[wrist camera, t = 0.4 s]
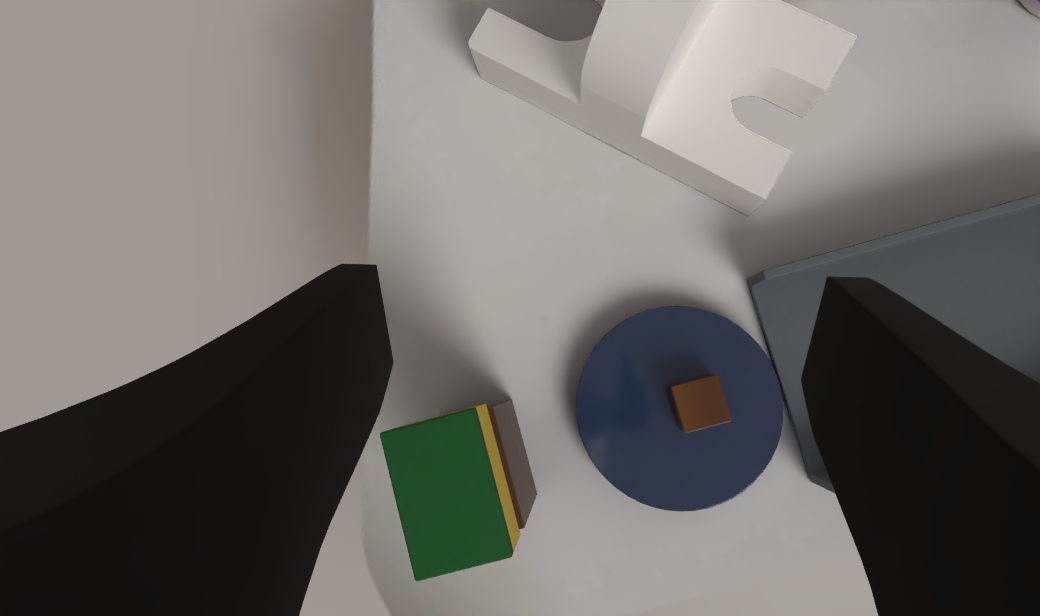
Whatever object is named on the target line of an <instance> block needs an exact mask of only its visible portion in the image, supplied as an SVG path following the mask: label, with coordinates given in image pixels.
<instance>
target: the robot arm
mask: <svg viewBox="0 0 1040 616" xmlns="http://www.w3.org/2000/svg"><path fill="white" fill-rule="evenodd" d="M392 366H393V357H392V351H391V345H390V340H389V334H388V328H387V322H386V317H385V311H384V305H383V300H382V294H381V288H380V283H379V277H378V271H377V265H365V264H340V265H338V266H336V267H334V268H332V269H330V270H328V271H327V272H325V273H323V274H321V275H320V276H318V277H316V278H315V279H313V280H311V281H310V282H308V283H307V284H305V285H303V286H302V287H300V288H299V289H297V290H296V291H294V292H292V293H291V294H289V295H288V296H286V297H284V298H283V299H281V300H280V301H278V302H276V303H275V304H273V305H272V306H270V307H268V308H267V309H265V310H264V311H262V312H260V313H259V314H257V315H256V316H254V317H253V318H251V319H249V320H247V321H246V322H244V323H243V324H240V325H239V326H237V327H235V328H234V329H232V330H230V331H228V332H227V333H225V334H223V335H221V336H220V337H218V338H216V339H214V340H213V341H211V342H209V343H207V344H206V345H204V346H202V347H200V348H199V349H197V350H195V351H193V352H191V353H189V354H187V355H186V356H184V357H182V358H180V359H178V360H176V361H174V362H172V363H170V364H168V365H166V366H164V367H162V368H160V369H158V370H155V371H153V372H151V373H149V374H147V375H145V376H143V377H140V378H139V379H136V380H134V381H132V382H130V383H127V384H125V385H123V386H121V387H118V388H116V389H114V390H111V391H109V392H106V393H103V394H101V395H99V396H96V397H93V398H91V399H89V400H86V401H83V402H81V403H78V404H76V405H73V406H71V407H68V408H66V409H63V410H60V411H58V412H55V413H53V414H50V415H48V416H45V417H42V418H40V419H37V420H34V421H31V422H28V423H25V424H22V425H19V426H16V427H14V428H11V429H8V430H5V431H2V432H0V616H299V614H300V610H301V607H302V604H303V600H304V597H305V594H306V591H307V588H308V585H309V582H310V579H311V575H312V573H313V569H314V566H315V563H316V560H317V557H318V554H319V551H320V548H321V545H322V543H323V540H324V538H325V535H326V533H327V530H328V527H329V525H330V523H331V520H332V518H333V516H334V514H335V511H336V509H337V507H338V504H339V502H340V500H341V498H342V496H343V493H344V491H345V489H346V487H347V485H348V482H349V480H350V478H351V476H352V474H353V471H354V469H355V467H356V465H357V462H358V460H359V458H360V456H361V454H362V451H363V449H364V447H365V445H366V442H367V440H368V438H369V435H370V433H371V431H372V429H373V426H374V424H375V422H376V419H377V417H378V415H379V412H380V409H381V406H382V402H383V399H384V396H385V392H386V389H387V385H388V381H389V377H390V374H391V370H392ZM801 384H802V388H803V393H804V398H805V403H806V408H807V412H808V416H809V420H810V425H811V429H812V433H813V436H814V439H815V441H816V444H817V447H818V449H819V452H820V455H821V457H822V460H823V463H824V465H825V468H826V470H827V473H828V476H829V478H830V481H831V483H832V486H833V488H834V491H835V494H836V496H837V499H838V501H839V504H840V506H841V509H842V511H843V514H844V517H845V519H846V522H847V524H848V527H849V529H850V532H851V534H852V537H853V539H854V542H855V545H856V547H857V550H858V552H859V555H860V557H861V560H862V563H863V566H864V569H865V572H866V575H867V577H868V580H869V583H870V586H871V590H872V593H873V597H874V601H875V605H876V608H877V612H878V616H1040V383H1038V382H1037V381H1035V380H1033V379H1032V378H1030V377H1028V376H1026V375H1025V374H1023V373H1021V372H1019V371H1018V370H1016V369H1014V368H1012V367H1011V366H1009V365H1008V364H1006V363H1004V362H1003V361H1001V360H999V359H998V358H996V357H994V356H993V355H991V354H990V353H988V352H986V351H985V350H983V349H982V348H980V347H978V346H977V345H975V344H974V343H972V342H970V341H969V340H967V339H966V338H964V337H963V336H961V335H960V334H958V333H957V332H955V331H953V330H952V329H950V328H949V327H947V326H946V325H944V324H943V323H941V322H940V321H938V320H937V319H935V318H934V317H932V316H931V315H929V314H928V313H926V312H924V311H923V310H921V309H920V308H918V307H917V306H915V305H914V304H912V303H911V302H909V301H908V300H906V299H905V298H903V297H901V296H900V295H898V294H897V293H895V292H894V291H892V290H890V289H889V288H887V287H885V286H884V285H882V284H880V283H878V282H877V281H875V280H873V279H871V278H869V277H835V276H827V278H826V282H825V286H824V290H823V294H822V298H821V302H820V306H819V310H818V313H817V317H816V321H815V325H814V329H813V333H812V337H811V341H810V345H809V349H808V353H807V357H806V361H805V365H804V368H803V372H802V376H801Z"/></svg>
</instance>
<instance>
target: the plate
mask: <svg viewBox="0 0 1040 616" xmlns="http://www.w3.org/2000/svg"><path fill="white" fill-rule="evenodd" d="M710 374H717V375H718V377H719V380H720V383H721V386H722V390H723V393H724V396H725V399H726V403H727V406H728V409H729V413H730V416H731V419H732V421H731V422H727V423H723V424H720V425H716V426H712V427H708V428H704V429H701V430H697V431H693V432H689V433H684V432H682V431H681V430H680V427H679V423H678V420H677V417H676V413H675V410H674V407H673V403H672V400H671V396H670V393H669V390H668V386H670V385H673V384H677V383H681V382H684V381H688V380H692V379H696V378H699V377H703V376H707V375H710ZM576 411H577V422H578V426H579V431H580V435H581V438H582V441H583V444H584V446H585V448H586V450H587V452H588V454H589V456H590V458H591V460H592V461H593V463H594V464H595V466H596V467H597V469H598V470H599V471H600V472H601V474H602V475H603V476H604V477H605V478H606V479H607V480H608V481H609V482H610V483H611V484H612V485H613V486H615V487H616V488H617V489H618V490H620V491H621V492H623V493H624V494H626V495H627V496H628V497H630V498H632V499H634V500H636V501H638V502H640V503H643V504H646V505H649V506H651V507H654V508H659V509H664V510H670V511H696V510H701V509H706V508H710V507H713V506H716V505H719V504H722V503H724V502H726V501H728V500H730V499H732V498H734V497H736V496H737V495H739V494H740V493H742V492H743V491H745V490H746V489H747V488H748V487H749V486H750V485H751V484H753V483H754V482H755V481H756V479H757V478H758V477H759V476H760V475H761V474H762V472H763V471H764V470H765V468H766V467H767V465H768V464H769V462H770V460H771V459H772V456H773V454H774V452H775V450H776V448H777V445H778V442H779V438H780V435H781V429H782V423H783V401H782V393H781V389H780V385H779V381H778V378H777V375H776V373H775V370H774V368H773V366H772V364H771V362H770V360H769V359H768V357H767V355H766V354H765V352H764V351H763V350H762V348H761V347H760V346H759V344H758V343H757V342H756V341H755V340H754V339H753V338H752V337H751V336H750V335H749V334H748V333H747V332H745V331H744V330H743V329H742V328H741V327H739V326H738V325H736V324H735V323H733V322H731V321H730V320H728V319H726V318H724V317H722V316H720V315H718V314H716V313H713V312H710V311H706V310H703V309H698V308H693V307H683V306H670V307H660V308H656V309H651V310H647V311H645V312H642V313H639V314H636V315H634V316H632V317H630V318H628V319H626V320H625V321H623V322H622V323H620V324H619V325H617V326H616V327H614V328H613V329H612V330H611V331H610V332H609V333H608V334H606V335H605V336H604V337H603V339H602V340H601V341H600V342H599V343H598V344H597V346H596V347H595V348H594V350H593V351H592V353H591V355H590V356H589V358H588V360H587V362H586V364H585V366H584V368H583V371H582V374H581V377H580V380H579V385H578V391H577V402H576Z"/></svg>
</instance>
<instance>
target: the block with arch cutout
mask: <svg viewBox="0 0 1040 616" xmlns="http://www.w3.org/2000/svg"><path fill="white" fill-rule="evenodd" d="M594 1H596V2H597V3H599V4H600V5H601V6H602V11H601V13H600V16H599V18H598V21H597V23H596V26H595V29H594V32H593V35H591V36H588V37H586V38H584V39H582V40H576V41H570V42H569V41H558V40H555V39H552V38H549V37H546V36H544V35H542V34H540V33H538V32H536V31H534V30H532V29H530V28H528V27H526V26H524V25H522V24H520V23H518V22H516V21H514V20H512V19H510V18H508V17H506V16H504V15H502V14H500V13H498V12H496V11H494V10H493V9H491V8H489V7H488V8H487V10H486V12H485V13H484V15H483V17H482V18H481V20H480V22H479V24H478V25H477V27H476V29H475V30H474V32H473V34H472V36H471V37H470V39H469V41H468V45H469V48H470V51H471V53H472V56H473V59H474V62H475V65H476V67H477V70H478V73H479V76H480V77H481V78H482V79H484V80H486V81H487V82H489V83H491V84H493V85H495V86H497V87H499V88H501V89H503V90H505V91H507V92H509V93H511V94H513V95H514V96H516V97H518V98H520V99H522V100H524V101H526V102H528V103H530V104H532V105H534V106H536V107H538V108H540V109H541V110H543V111H545V112H547V113H549V114H551V115H553V116H555V117H557V118H559V119H561V120H563V121H565V122H567V123H568V124H570V125H572V126H574V127H576V128H578V129H580V130H583V131H584V132H586V133H588V134H590V135H592V136H594V137H596V138H598V139H600V140H602V141H604V142H606V143H608V144H610V145H611V146H613V147H615V148H617V149H619V150H621V151H623V152H625V153H627V154H629V155H631V156H633V157H635V158H637V159H638V160H640V161H642V162H644V163H646V164H648V165H650V166H652V167H654V168H656V169H658V170H660V171H662V172H664V173H665V174H667V175H669V176H671V177H673V178H675V179H677V180H679V181H681V182H683V183H685V184H687V185H689V186H691V187H692V188H694V189H696V190H698V191H700V192H702V193H704V194H706V195H708V196H710V197H712V198H714V199H716V200H718V201H719V202H721V203H723V204H725V205H727V206H729V207H731V208H733V209H735V210H737V211H739V212H741V213H743V214H745V215H746V216H749V215H750V214H751V213H752V212H753V211H755V210H756V209H757V208H758V207H759V206H760V205H761V204H762V203H763V202H764V201H765V200H766V199H767V197H768V195H769V193H770V192H771V190H772V188H773V186H774V185H775V183H776V181H777V179H778V177H779V176H780V174H781V172H782V170H783V168H784V167H785V165H786V163H787V161H788V160H789V158H790V156H791V154H792V151H790V150H788V149H786V148H784V147H782V146H780V145H778V144H776V143H774V142H772V141H770V140H768V139H766V138H764V137H762V136H760V135H758V134H756V133H754V132H752V131H750V130H748V129H747V128H745V127H744V126H742V125H741V123H740V122H739V121H738V120H737V119H736V117H735V115H734V113H733V111H732V105H731V101H732V100H735V99H737V98H739V97H744V96H757V97H760V98H763V99H765V100H767V101H769V102H771V103H773V104H775V105H777V106H780V107H782V108H784V109H786V110H788V111H790V112H792V113H794V114H796V115H798V116H800V117H802V118H804V117H805V116H806V115H807V113H808V112H809V111H810V110H811V109H812V108H813V107H814V105H815V104H816V103H817V102H818V101H819V100H820V99H821V97H822V96H823V95H824V94H825V93H826V92H827V90H828V88H829V87H830V85H831V83H832V81H833V79H834V78H835V76H836V74H837V72H838V70H839V69H840V67H841V65H842V63H843V62H844V60H845V58H846V56H847V54H848V53H849V51H850V49H851V47H852V46H853V44H854V42H855V40H856V38H857V37H858V36H856V35H854V34H852V33H850V32H848V31H846V30H843V29H841V28H839V27H837V26H835V25H833V24H831V23H829V22H826V21H824V20H822V19H820V18H818V17H816V16H814V15H811V14H809V13H807V12H805V11H803V10H801V9H799V8H797V7H794V6H792V5H790V4H788V3H786V2H784V1H782V0H594Z"/></svg>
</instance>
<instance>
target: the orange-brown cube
mask: <svg viewBox="0 0 1040 616" xmlns="http://www.w3.org/2000/svg"><path fill="white" fill-rule="evenodd" d="M668 390H669V393H670V396H671V400H672V403H673V407H674V410H675V413H676V417H677V420H678V423H679V427H680V430H681V431H682V432H684V433H689V432H693V431H697V430H701V429H704V428H708V427H712V426H716V425H720V424H723V423H727V422H731V421H732V419H731V416H730V413H729V409H728V406H727V403H726V399H725V396H724V393H723V390H722V386H721V383H720V380H719V377H718V375H717V374H710V375H707V376H703V377H699V378H696V379H692V380H688V381H684V382H681V383H677V384H673V385H670V386H668Z"/></svg>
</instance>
